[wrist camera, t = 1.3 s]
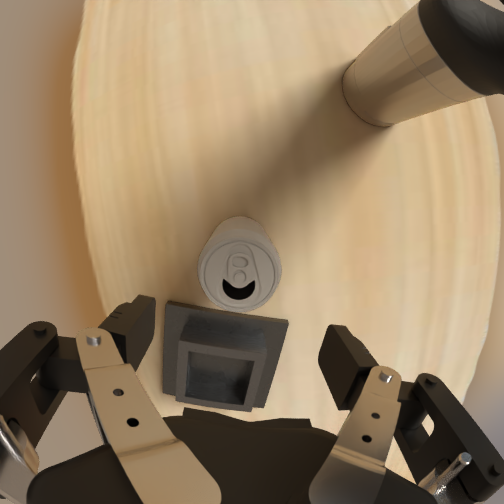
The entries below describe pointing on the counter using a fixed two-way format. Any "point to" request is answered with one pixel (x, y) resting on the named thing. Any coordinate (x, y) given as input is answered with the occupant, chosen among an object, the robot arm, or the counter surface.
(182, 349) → the grey square socket holder
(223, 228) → the beverage can
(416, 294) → the counter surface
